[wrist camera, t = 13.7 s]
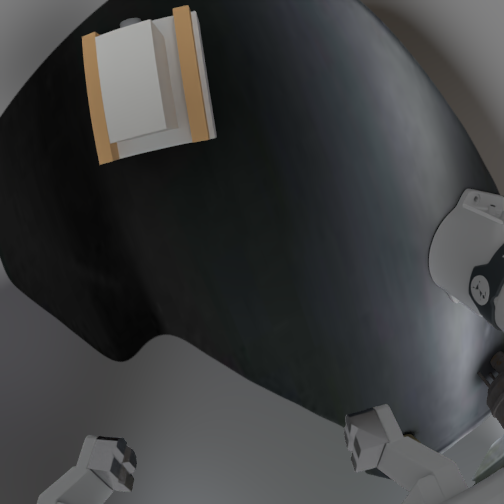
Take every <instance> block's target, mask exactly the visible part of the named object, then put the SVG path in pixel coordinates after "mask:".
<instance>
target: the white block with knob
mask: <svg viewBox="0 0 504 504" xmlns="http://www.w3.org/2000/svg"><path fill="white" fill-rule="evenodd" d="M95 42H96V53H97V62H98V70H99V78H100V86H101V93H102V100H103V106H104V112H105V118H106V124H107V129H108V135H109V140H110V143H116V142H121V141H127V140H133V139H136V138H140V137H144V136H148V135H152V134H156V133H160V132H164V131H169V130H173V129H178V128H179V127H178V122H177V116H176V110H175V104H174V98H173V92H172V86H171V79H170V73H169V66H168V60H167V53H166V46H165V39H164V36H163V35H162V34H161V32H160V31H159V30H158V28H157V27H156V26H155V25H154V23H153V22H152V21H151V20H150V19H149V20H146V21H142V22H141V19H139V18H131V19H127V20H124V21H122V22H121V23H120V29H117V30H114V31H111V32H108V33H105V34H102V35H100V36H97V37H95Z"/></svg>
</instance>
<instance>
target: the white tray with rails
mask: <svg viewBox="0 0 504 504" xmlns="http://www.w3.org/2000/svg"><path fill="white" fill-rule="evenodd" d="M152 22H153V23H154V25H155V26H156V27H157V28H158V30H159V31H160V32H161V34H162V35H163V36H164V39H165V46H166V53H167V60H168V66H169V73H170V79H171V86H172V92H173V98H174V104H175V110H176V116H177V122H178V127H179V128H178V129H173V130H169V131H164V132H160V133H156V134H152V135H148V136H144V137H140V138H136V139H133V140H127V141H121V142H116V143H110V140H109V135H108V129H107V124H106V118H105V112H104V106H103V100H102V93H101V86H100V78H99V70H98V62H97V53H96V42H95V37H97V36H100V35H99V34H98V33H96V32H93V33H91V34H88V35H86V36H83V37H82V45H83V57H84V68H85V77H86V85H87V93H88V100H89V107H90V114H91V120H92V126H93V132H94V138H95V143H96V148H97V153H98V158H99V163H100V165H101V164H104V163H108V162H112V161H115V160H118V159H121V158H125V157H129V156H133V155H137V154H141V153H145V152H149V151H154V150H158V149H162V148H167V147H172V146H176V145H181V144H186V143H191V142H193V143H194V142H199V141H205V140H209V139H213V138H216V137H217V134H216V128H215V122H214V116H213V109H212V103H211V97H210V90H209V84H208V77H207V71H206V64H205V58H204V51H203V45H202V38H201V31H200V24H199V20H198V17H197V14H196V11H193V12H191V11H190V9H189V6H188V5H187V6H182V7H177V8H173V16H169V17H165V18H161V19H157V20H153V21H152Z"/></svg>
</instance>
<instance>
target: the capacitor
mask: <svg viewBox="0 0 504 504" xmlns="http://www.w3.org/2000/svg"><path fill="white" fill-rule="evenodd" d="M490 363H491V365H492V366H493V368H494V369H495V370H496V371H497V372H498V373H499V374H498V376H497V377H496V378H495V377H494V376H493V374H492V373H490V374H489V375H490V376H491V378H492V379H493V380H494V381H493V382H492V383H491V385H490V384H489V382H488V381H487V380H486V379H485V377H484V376H483V375H482V373H481V372H480V371H479V372H478V375H479V376H480V377H481V378H482V380H483V381H484V382H485V383H486V385H487V386H488V387H489V389H488V397H487V405H488V407H489V408H490V410H491V413H492V415H493V417H496V418H497V420H498V421H499V423H500V424H501V426H502V427H503V428H504V353H503V352H502V351H499V352H497V353H496V354H495V355H494V356H493V358H492V359H491V362H490Z"/></svg>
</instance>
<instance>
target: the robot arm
mask: <svg viewBox="0 0 504 504" xmlns="http://www.w3.org/2000/svg"><path fill="white" fill-rule="evenodd" d="M474 198H475V199H474ZM429 270H430V274H431V277H432V279H433V281H434V282H435V284H436V285H437V286H439V287H440V288H442V289H444V290H445V291H446V292H447V293H448V295H449V297H450V299H451V300H452V301H453V302H455V303H459V302H461V303H462V304H464V305H465V306H466V307H468V308H469V309H470V310H472V311H473V312H475V313H476V314H477V315H479V316H481V317H484V318H485V319H486V320H487V322H488V323H489V324H490V325H491V326H493V327H495V328H496V329H497V330H500V331H503V332H504V196H501V195H497V194H493V193H488V192H484V191H479V190H474V189H466V190H465V191H464V192H463V194H462V196H461V198H460V200H459V202H458V204H457V206H456V207H455V208H454V209H453V210H452V211H451V212H450V213H449V214H448V215H447V216H446V218H445V219H444V220H443V222H442V223H441V224H440V226H439V228H438V229H437V231H436V234H435V236H434V238H433V241H432V244H431V248H430V253H429ZM345 421H346V424H347V425H346V426H345V427H344V437H345V442H346V446H347V449H348V450H349V451H351V452H352V454H351V462H352V465H353V468H354V471H355V473H357V472H361V471H364V470H368V469H372V468H375V467H377V468H378V469H379V470H381V471H382V472H383V473H384V474H386V475H387V476H388V477H390V478H391V479H392V480H394V481H395V482H396V483H398V484H399V485H401V486H402V487H403V488H405V489H406V490H407V491H409V492H410V493H409V494H408V496H407V497H406V498H405V500H404V501H403V503H402V504H504V467H503V468H502V469H500V470H499V471H497V472H496V473H494V474H492V475H491V476H489V477H488V478H486V479H484V480H483V481H481V482H479V483H478V484H476V485H474V486H472V487H471V488H468V486H467V484H466V483H465V480H464V479H463V477H462V474H461V472H460V471H459V469H458V467H457V465H456V463H455V462H454V461H452V460H450V459H448V458H446V457H445V456H443V455H441V454H439V453H437V452H435V451H433V450H432V449H430V448H428V447H426V446H424V445H423V444H421V443H419V442H417V441H415V440H414V439H412V438H410V437H408V436H407V437H404V436H403V434H402V432H401V430H400V428H399V426H398V424H397V422H396V420H395V417H394V415H393V413H392V411H391V409H390V407H389V406H388V405H387V404H383V405H380V406H377V407H374V408H369V409H366V410H362V411H359V412H355V413H352V414H348V415H347V416H346V419H345ZM126 444H127V442H126V441H125V440H124V438H116V437H102V436H93V435H88V436H87V437H86V438H85V441H84V444H83V447H82V450H81V454H80V456H79V459H78V462H77V466H76V467H72V468H71V469H70V470H69V471H68V472H66V473H65V474H64V475H63V476H62V477H61V478H59V479H58V480H57V481H56V482H55V483H54V484H52V485H51V486H50V487H49V488H48V489H47V490H45V491H44V492H43V493H42V494H41V495H39V498H38V502H37V504H103V503H104V502H105V501H106V500H107V498H108V497H109V496H110V495H111V494H112V492H113V490H115V491H126V492H132V488H133V482H134V478H133V476H132V473H133V472H134V471H135V470H136V464H137V461H136V455H135V453H134V451H133V450H132V449H131V448H130V447H128V446H126Z"/></svg>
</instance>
